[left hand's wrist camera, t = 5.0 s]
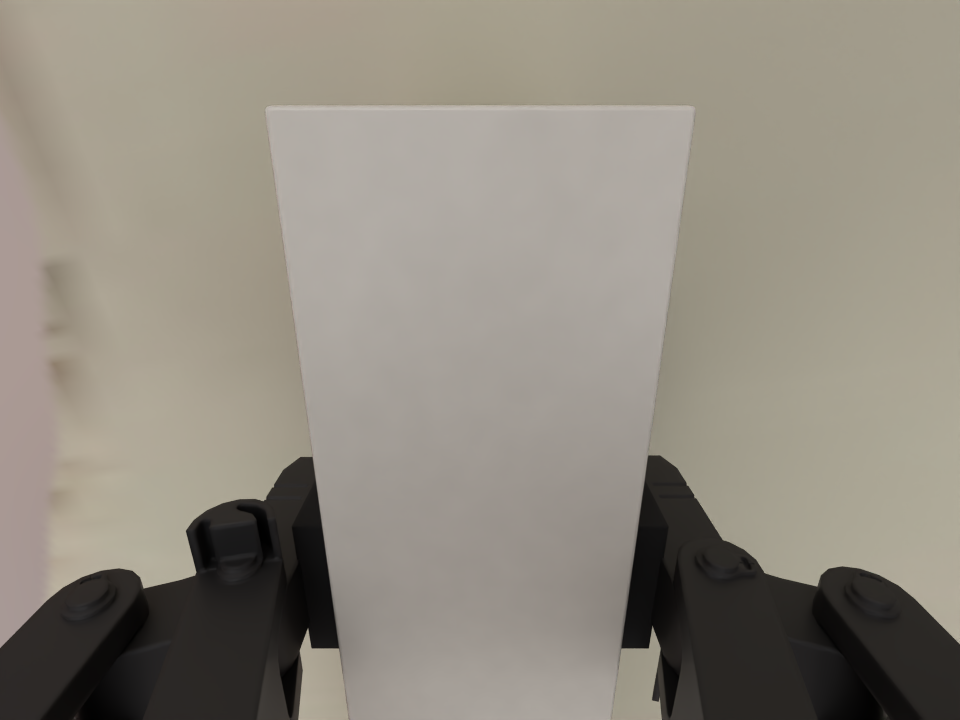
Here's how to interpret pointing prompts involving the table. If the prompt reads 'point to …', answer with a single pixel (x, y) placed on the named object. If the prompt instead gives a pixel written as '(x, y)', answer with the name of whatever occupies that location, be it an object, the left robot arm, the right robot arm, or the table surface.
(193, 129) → the table surface
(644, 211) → the bar
